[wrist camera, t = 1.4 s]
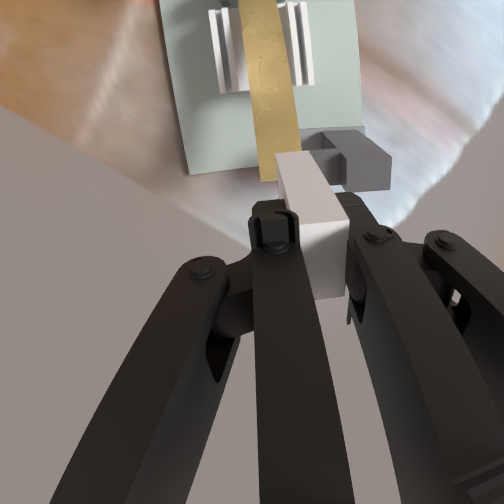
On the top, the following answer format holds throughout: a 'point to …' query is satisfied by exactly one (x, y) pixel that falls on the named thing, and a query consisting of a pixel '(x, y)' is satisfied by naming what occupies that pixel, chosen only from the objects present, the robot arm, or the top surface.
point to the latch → (353, 161)
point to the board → (233, 110)
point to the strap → (269, 84)
